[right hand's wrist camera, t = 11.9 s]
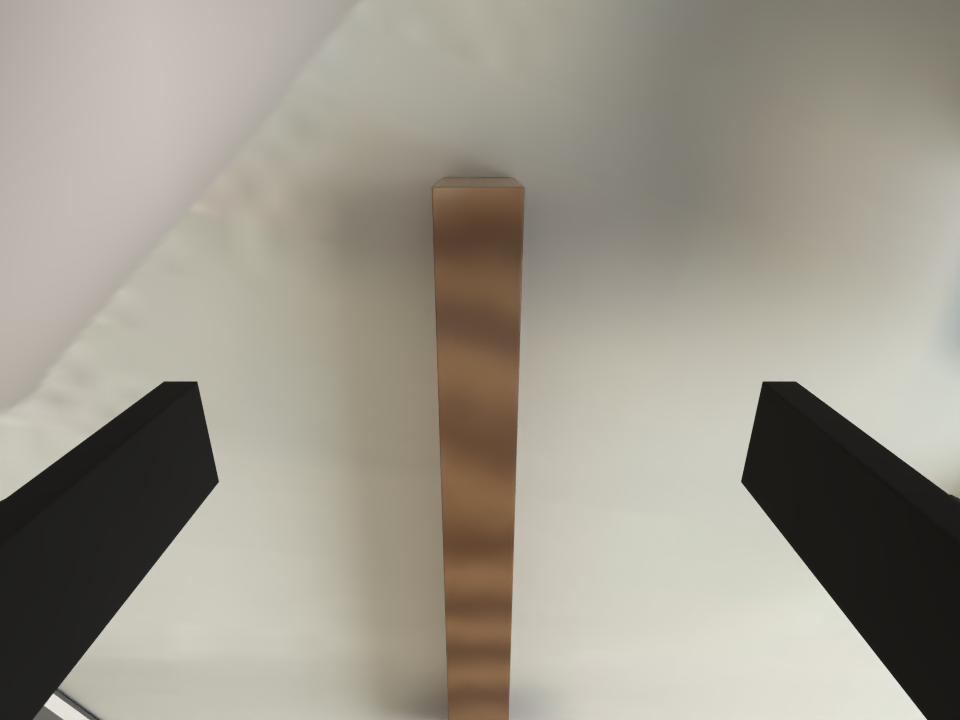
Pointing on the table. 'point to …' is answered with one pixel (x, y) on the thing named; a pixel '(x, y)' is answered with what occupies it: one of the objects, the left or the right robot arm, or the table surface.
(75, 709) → the tablet
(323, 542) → the table surface
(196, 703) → the table surface
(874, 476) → the right robot arm
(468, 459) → the beam
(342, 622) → the table surface
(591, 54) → the table surface
